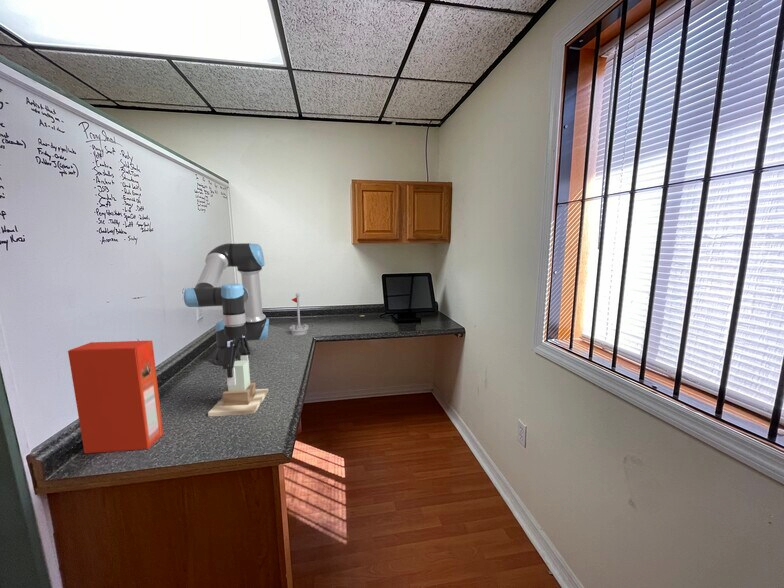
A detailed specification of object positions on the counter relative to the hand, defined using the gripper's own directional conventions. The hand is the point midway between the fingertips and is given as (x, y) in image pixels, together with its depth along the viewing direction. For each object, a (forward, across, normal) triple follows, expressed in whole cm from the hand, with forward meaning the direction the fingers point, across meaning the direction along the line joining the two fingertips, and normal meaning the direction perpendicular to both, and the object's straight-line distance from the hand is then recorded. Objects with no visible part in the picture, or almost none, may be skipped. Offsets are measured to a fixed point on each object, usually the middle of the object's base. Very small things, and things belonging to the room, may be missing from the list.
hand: (238, 377), depth 119 cm
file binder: (+11, +23, -26) cm, 36 cm away
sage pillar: (+4, 0, 0) cm, 4 cm away
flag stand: (+11, -106, +3) cm, 107 cm away
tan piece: (+11, 0, 0) cm, 11 cm away
